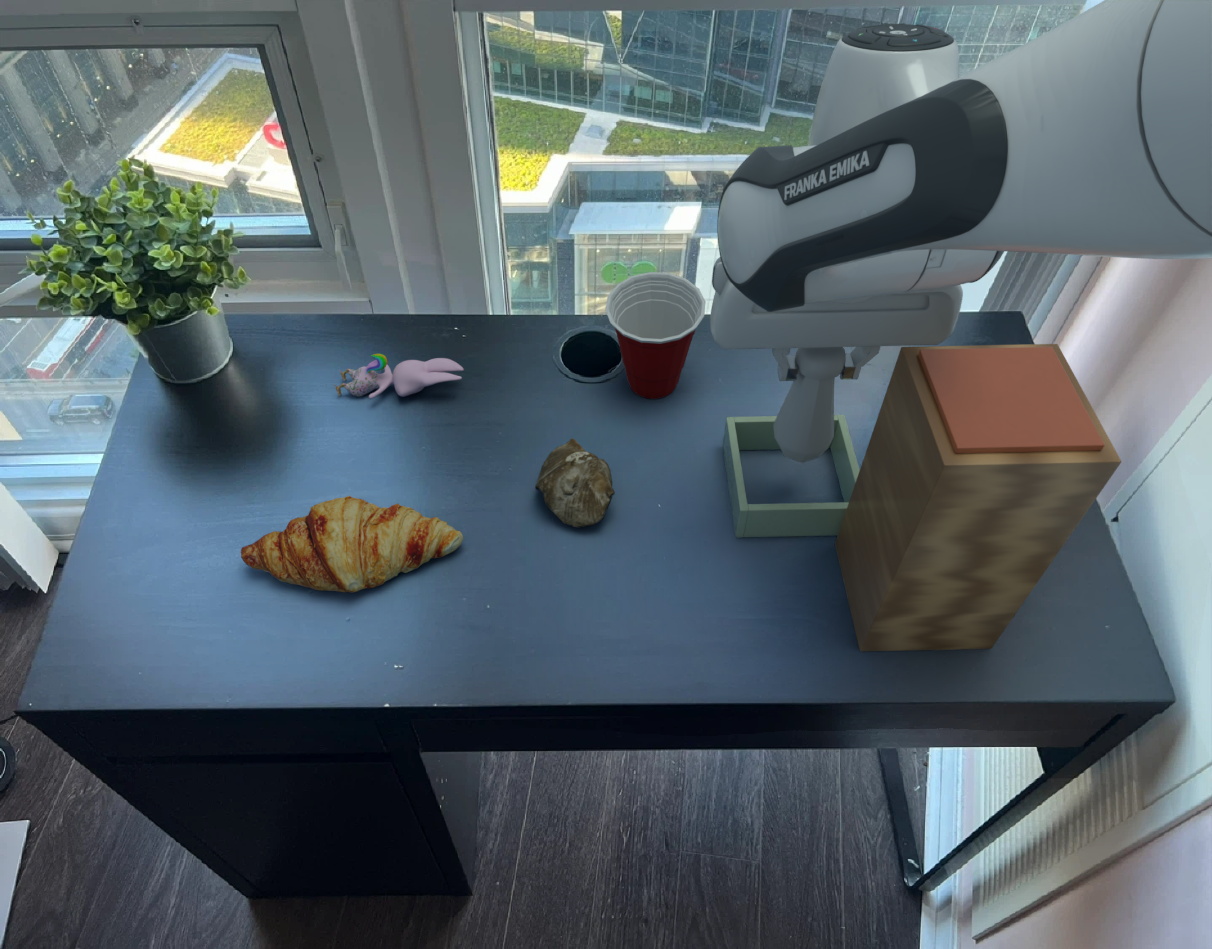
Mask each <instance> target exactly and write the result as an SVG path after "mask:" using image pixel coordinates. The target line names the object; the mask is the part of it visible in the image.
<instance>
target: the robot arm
mask: <svg viewBox="0 0 1212 949" xmlns="http://www.w3.org/2000/svg"><path fill="white" fill-rule="evenodd" d="M957 42H958V41H956V39H955V38H954V37H953V36H951V35H950V34H948V33H947V32H946V31H944V30H943V29H940V28H937V27H934V26H930V25H925V24H920V23H917V24H911V23H905V22H904V23H886V24H876V25H868V26H862V27H859V28H857V29H855V30H852V31H850V32H849V33H847V34H845V35H843V36H842V37H841V38H839V40H838V41H837V43H836V45H835V46H834V49H833V51H832V53H831V56H830V58H829V60H828V64H827V67H826V69H825V72H824V75H823V78H822V82H821V85H820V88H819V91H818V96H817V100H816V104H815V107H814V111H813V116H812V120H811V126H810V130H809V135H808V141H807V145H801V146H792V144H791V145H774V146H758V147H757V148H755V149H754V150H753V151H752V152H751V154H749V155H748V156H747V157H746V158H745V159H744V160H743V161H742V163H740V165H739V166H738V167H737V169H735V171H734V172H733V174H732V175H731V177H730V178H729V179H728V181H727V182H726V183H725V186H724V188H723V190H722V193H721V196H720V199H719V204H718V210H717V222H716V223H717V225H716V227H717V228H716V229H717V230H716V231H717V232H716V233H717V246H718V252H719V257H718V258H717V259H716V260H715V261H714V265H713V267H712V275H711V277H712V278H711V285H712V288H713V290H714V291H715V292H714V295H713V299H712V302H711V309H710V316H709V324H710V325H709V326H710V332H711V338H712V340H713V342H714V343H715V345H717V347H719V349H721V350H724V351H725V350H730V351H731V350H766V349H767V350H769V349H770V350H771V351H772V355H773V357H774V359H775V362H777V369H776V370H777V376H778V381H779V382H793V381H796V380H797V374H798V370H799V367H798V364H797V362H796V354H790V352H791V349H798V348H820V347H843V348H854V349H852V350H851V351H850V353H845V355H846V362H845V365H844V368H843V369H842V371H841V373H840V374H839V379H840V380H845V381H846V380H847V381H848V380H849V381H850V380H851V381H852V380H855V381H856V380H858V379H859V377H860V373H861V370H862V367H865V366H866V365H867V364H868V363H869V362H870V361H871V360H872V359H874V358H875V357H876V356H877V355H878V354H879V353H880V350H881V347H912V346H939V345H940V344H942V343H943V342H945V341H946V340H947V339H949V338H951V336H952V335H953V333H954V330H955V329H956V326H957V322H958V320H959V316H960V312H961V308H962V303H963V298H964V297H963V296H964V291H963V287H962V285H966V284H972V283H976V282H978V281H980V280H981V279H982V278H984V277H985V276H986V275H987V274H988V273H989V272H990V271H991V270H992V269H993V268H994V267H995V266H996V264H998V262H999V260H1000V259H1001V258H1002V256H1003V254H1004V253H1005V252H1008V253H1009V252H1011V253H1031V254H1032V253H1033V254H1052V255H1053V254H1054V255H1070V256H1071V255H1072V256H1089V257H1103V258H1104V257H1105V258H1119V259H1120V258H1122V259H1146V260H1147V259H1149V260H1205V259H1212V0H1103V1H1101V2H1099V3H1097V4H1095V5H1094V6H1092V7H1090V8H1088V9H1086V10H1085V11H1083V12H1081V13H1079V14H1078V15H1076V16H1074V17H1072V18H1071V19H1068V20H1067V21H1065V22H1063V23H1062V24H1060V25H1058V26H1056V27H1054V28H1052V29H1051V30H1048V31H1047V32H1045V33H1043V34H1041V35H1039V36H1037V37H1036V38H1033V39H1032V40H1030V41H1028V42H1026V43H1023V44H1022V45H1019V46H1018V47H1015V48H1014V49H1012V50H1010V51H1008V52H1006V53H1004V54H1001V55H999V56H997V57H996V58H993V59H992V60H990V61H987V62H985V63H984V64H981V65H979V66H977V67H975V68H974V69H971V70H970V71H968V72H965V73H964V74H963V75H961V76H960V74H959V71H960V70H959V69H960V68H959V67H960V51H959V45H958V43H957Z"/></svg>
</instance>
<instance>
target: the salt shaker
mask: <svg viewBox="0 0 1212 949" xmlns="http://www.w3.org/2000/svg"><path fill="white" fill-rule="evenodd" d="M845 354H846V350H845V347H820V348H797V350H796V352H795V355H796V362H797V364H798V367H799V370H798V374H797V380H796V381H792V383H791V385H790V387H789V390H788V392H787V394H786V396H785V398H784V401H783V403H782V405H781V406H780V409H779V411H778V414H777V415H776V416H777V418H776V420H775V422H774V424H773V425H774V438H775V439H776V441H777V443H778V444H779V446H780V448H781V449H780V450H781V453H782V456H783V457H785V458H787V459H790V460H792V461H795V462H797V463H801V464H802V463H805V462H809V461H812V460H814V459H818V458H819V457H820V456H822V454H824V453H825V452H826V451H827V450H828V449H829V448H828V447H829V445H830V443H831V441H832V439H833V437H834V415H835V379H836V378H837V377H840V373H841V371H842V369H843V368H844V365H845V362H846V355H845Z"/></svg>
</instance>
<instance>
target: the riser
mask: <svg viewBox="0 0 1212 949" xmlns="http://www.w3.org/2000/svg"><path fill="white" fill-rule="evenodd" d="M1017 347H1053V349H1054V351H1055V353H1056V355H1057V357H1058V358H1059V360H1060V362H1061V364H1062V366H1063V368H1064V370H1065V371H1066V373H1067V375H1068V377H1069V379H1070V381H1071V383H1072V385H1073V386H1074V388H1075V390H1076V392H1077V394H1078V396H1079V398H1080V399H1081V401H1082V403H1083V405H1084V407H1085V409H1086V411H1087V412H1088V414H1089V416H1090V418H1091V420H1092V422H1093V424H1094V425H1095V427H1096V429H1097V431H1098V433H1099V435H1100V437H1101V438H1102V440H1103V442H1104V444H1105V446H1104V447H1103V449H1102V450H1101V451H1054V452H1005V453H955V452H954V449H953V446H952V444H951V441H950V438H949V436H948V433H947V430H946V428H945V425H944V423H943V420H942V417H941V415H940V412H939V409H938V407H937V404H936V401H935V399H934V396H933V394H932V391H931V388H930V386H929V383H928V380H927V378H926V375H925V372H924V370H923V367H922V365H921V362H920V359H919V357H918V353H919V351H920V349H968V348H1017ZM885 391H886V392H885V395H884V396H883V397H884V398H883V400H882V402H881V407H880V409H879V412H878V415H877V417H876V421H875V424H874V426H873V431H872V433H871V436H870V439H869V441H868V445H867V447H866V450H865V454H864V457H863V458H862V462H861V466H860V467H859V470H860V471H859V474H858V477H857V480H856V483H855V486H854V489H853V492H852V495H851V498H850V501H849V504H848V507H847V510H846V513H845V516H844V518H843V521H842V524H841V527H840V530H839V533H838V535H836V536H837V537H836V540H835V542H834V547H835V551H836V555H837V559H838V564H839V568H840V573H841V576H842V580H843V584H844V589H845V593H846V597H847V601H848V607H849V611H850V615H851V618H852V623H853V626H854V627H853V628H854V632H855V637H856V640H857V645H858V648H859V652H893V651H894V652H896V651H898V652H901V651H902V652H904V651H944V650H945V651H949V650H951V651H952V650H990V649H991V650H992V649H993V647H994V646H995V644H996V643H997V641H998V640H999V638H1000V637H1001V636H1002V634H1003V633H1004V632H1005V631H1006V629H1007V627H1008V626H1009V624H1010V623H1011V621H1012V620H1013V619H1014V617H1015V615H1016V614H1017V612H1018V611H1019V610H1020V608H1021V607H1022V606H1023V604H1024V603H1025V601H1026V600H1027V598H1028V597H1029V595H1030V594H1031V593H1032V591H1033V590H1034V589H1035V587H1036V586H1037V584H1038V583H1039V582H1040V580H1041V578H1042V577H1043V575H1044V574H1045V573H1046V571H1047V569H1049V567H1050V565H1051V564H1052V562H1054V560H1055V558H1057V555H1058V554H1059V552H1060V551H1061V550H1062V548H1063V547H1064V545H1065V544H1066V542H1067V541H1068V540H1069V538H1070V536H1071V535H1072V534H1073V532H1074V531H1075V530H1076V528H1077V527H1078V525H1079V524H1080V523H1081V521H1082V520H1083V518H1084V517H1085V515H1086V514H1087V512H1088V511H1089V510H1090V508H1091V507H1092V505H1093V504H1094V502H1095V501H1096V500H1097V498H1098V497H1099V495H1100V494H1101V492H1102V491H1103V489H1104V488H1105V486H1106V485H1107V483H1108V482H1109V481H1110V480H1111V478H1112V477H1113V475H1114V474H1115V472H1116V471H1117V470H1118V468H1119V466H1120V465H1121V464H1122V459H1121V458H1120V456H1119V454H1118V452H1117V449H1115V447H1114V444H1113V443H1112V441H1111V439H1110V437H1109V436H1108V434H1107V432H1106V430H1105V428H1104V426H1103V425H1102V422H1101V420H1100V419H1099V417H1098V415H1097V413H1096V412H1095V410H1094V408H1093V406H1092V405H1091V402H1090V401H1089V399H1088V397H1087V394H1085V391H1084V390H1083V388H1082V386H1081V384H1080V382H1079V380H1078V379H1077V377H1076V375H1075V373H1074V372H1073V370H1072V368H1071V366H1070V364H1069V362H1068V360H1067V359H1066V357H1065V355H1064V352H1063V351H1062V350H1061V348H1060V346H1059V344H1058V343H1032V344H1031V343H1030V344H1027V343H1026V344H985V345H984V344H983V345H981V344H980V345H976V344H975V345H925V346H900V350H899V352H898V356H897V359H896V362H895V364H894V368H893V371H892V373H891V377H890V380H889V382H888V386H887V389H886V390H885Z"/></svg>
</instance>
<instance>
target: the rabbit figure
mask: <svg viewBox="0 0 1212 949" xmlns="http://www.w3.org/2000/svg"><path fill="white" fill-rule="evenodd" d="M370 357H373V358H374V360H372V361H371V362H369V363H368V364H367V366H360V367H359V368H357V369H351V368H346V370H344V371H342V370H340V369H338V371H339V373H340V376H341V378H342V380H343V381H342V383H341V384H340V385H338V386H337V384H333V386H334V387H335V390H336V392H337V395H338V397H342V395H343V394H342V389H341V388H344V389H345V390H347V392H349V393H350V394H351V395H352V396H354V397H363V396H365V395H366V394H369V393H370V394H369V395H368V399H370V400H371V399H372V400H373V399H374V398H376V397H378V396H379V395H380V394H382V393H383V392H384V391H385V390H387V389H388V387H390V386H392V385H394V390H395V393H396V394H397V395H398V396H400V397H407V396H410V395H414V394H417V393H419V392H422V390H423V389H424V388H425V387H429V386H433V385H435V384H439V383H444V382H453V381H460V380H462V379H463V377H462V376H460V375H457V374H453V373H450V372H463V371H464V370H465V369H464V368H463V366H462V365H460V364H459V363H457V362H456V361H455V360H452V359H450V358H446V357H437V358H431V359H429V360H426V361H422V360H418V359H407V360H403V361H401V362H399V363H398V364H397V365H396V366H395V367H394V369H393V371H392V370H391V368H390V366H389V364H388V358H387V356H386V355H384V354H383V353H374V354H372V355H370ZM382 370H384V372H383V373H378V372H379V371H382ZM377 371H378V372H377ZM347 374H348V375H349V376H350V377H351V379H352V381H350V382H348V383H344V382H347ZM375 389H377V390H376V391H374V390H375ZM372 391H374V392H372ZM371 392H372V393H371Z"/></svg>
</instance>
